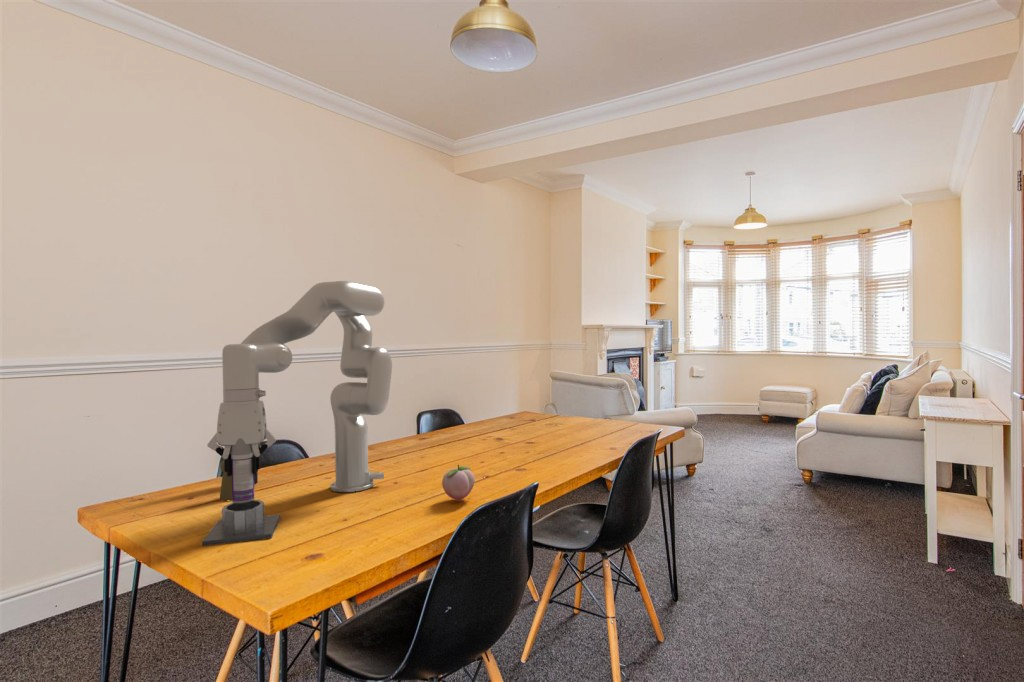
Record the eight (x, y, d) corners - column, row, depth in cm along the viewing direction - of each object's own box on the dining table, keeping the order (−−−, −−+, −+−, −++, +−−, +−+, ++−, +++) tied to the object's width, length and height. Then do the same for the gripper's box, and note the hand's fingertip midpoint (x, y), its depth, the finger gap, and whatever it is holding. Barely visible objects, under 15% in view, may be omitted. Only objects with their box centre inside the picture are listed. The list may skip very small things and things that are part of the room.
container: (237, 497, 126) (236, 434, 126) (257, 496, 126) (256, 434, 126) (228, 503, 121) (227, 438, 121) (249, 502, 122) (248, 438, 121)
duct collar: (280, 517, 132) (280, 494, 132) (271, 538, 119) (270, 511, 119) (218, 524, 129) (218, 499, 129) (201, 545, 115) (201, 518, 115)
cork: (233, 501, 147) (232, 462, 146) (214, 500, 148) (213, 461, 148) (248, 495, 152) (247, 457, 152) (230, 494, 154) (229, 456, 154)
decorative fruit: (454, 494, 150) (453, 459, 150) (479, 497, 146) (478, 462, 146) (435, 504, 142) (434, 467, 141) (461, 508, 138) (461, 470, 138)
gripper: (282, 393, 130) (284, 467, 130) (205, 396, 125) (207, 473, 125) (278, 396, 122) (279, 474, 122) (195, 399, 118) (197, 481, 118)
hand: (242, 472), depth 124 cm, fingers closed on container, 4 cm apart
